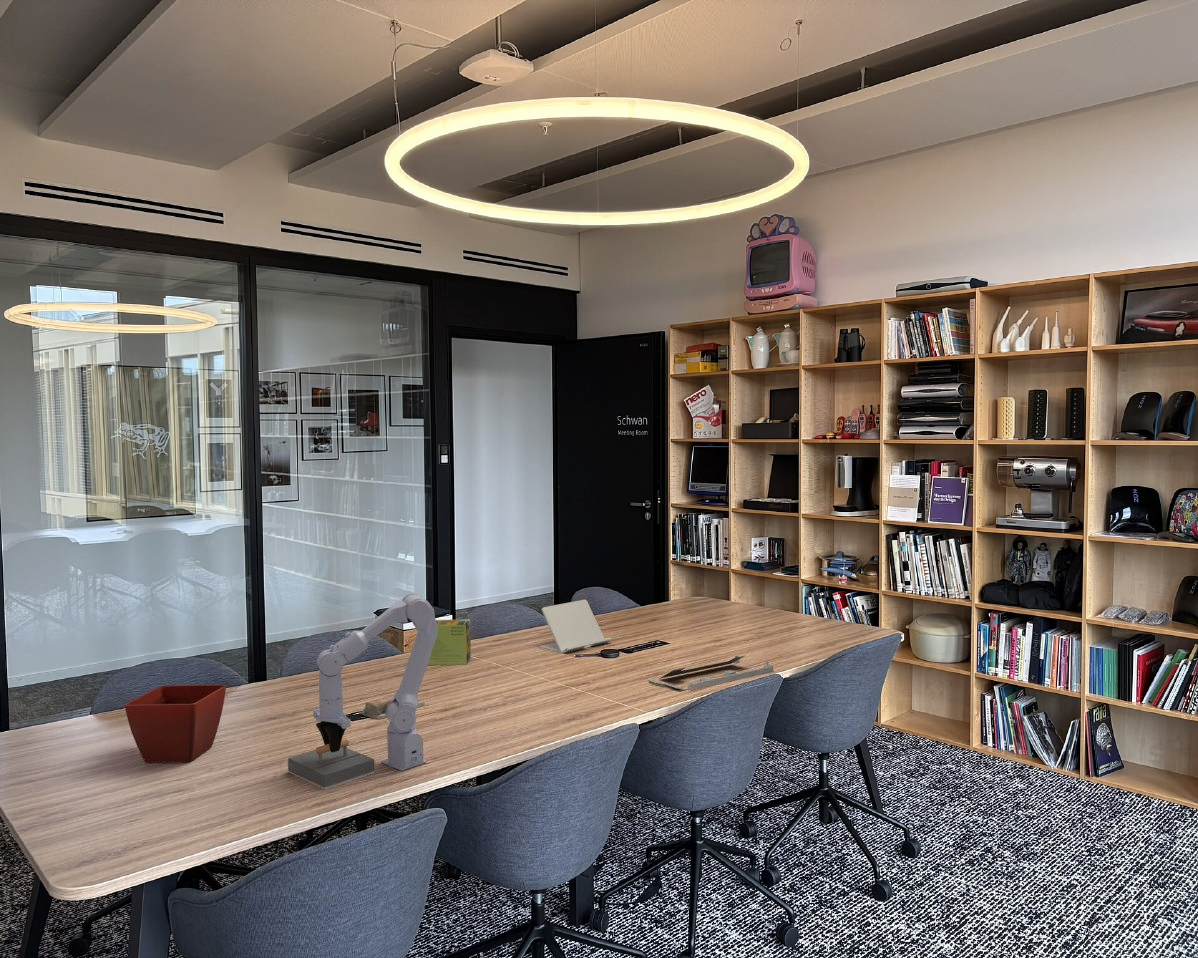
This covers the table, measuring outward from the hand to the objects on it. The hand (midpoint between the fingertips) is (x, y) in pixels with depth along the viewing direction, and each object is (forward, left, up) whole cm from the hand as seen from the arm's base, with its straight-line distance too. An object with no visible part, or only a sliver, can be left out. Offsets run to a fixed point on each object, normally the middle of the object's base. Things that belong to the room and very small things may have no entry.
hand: (332, 750), depth 223 cm
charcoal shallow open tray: (+1, 0, -6) cm, 6 cm away
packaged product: (+34, -41, -7) cm, 54 cm away
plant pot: (+45, +20, -6) cm, 50 cm away
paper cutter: (-21, -136, -7) cm, 138 cm away
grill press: (+4, 0, -3) cm, 5 cm away
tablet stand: (+49, -140, -6) cm, 149 cm away
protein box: (+69, -91, -6) cm, 114 cm away
